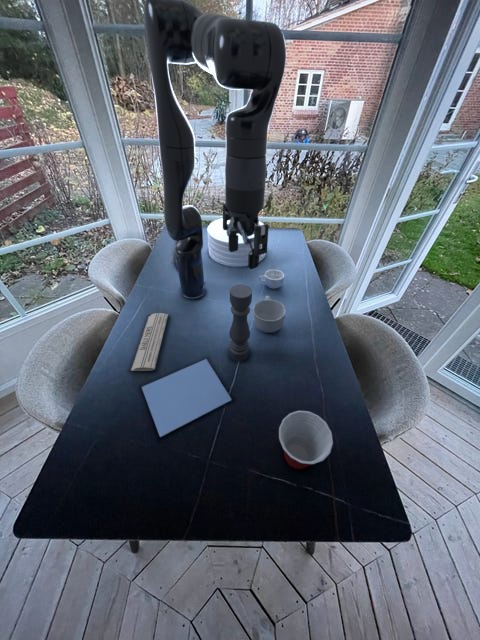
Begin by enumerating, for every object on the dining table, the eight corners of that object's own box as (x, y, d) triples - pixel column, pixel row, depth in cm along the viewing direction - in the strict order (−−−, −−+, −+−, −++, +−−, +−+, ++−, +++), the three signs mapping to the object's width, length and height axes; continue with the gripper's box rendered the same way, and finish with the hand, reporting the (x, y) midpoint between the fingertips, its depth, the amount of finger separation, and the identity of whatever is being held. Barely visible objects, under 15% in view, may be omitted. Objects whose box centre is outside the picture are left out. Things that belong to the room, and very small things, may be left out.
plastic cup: (269, 434, 66) (274, 411, 57) (311, 431, 66) (323, 407, 58) (277, 484, 58) (285, 465, 49) (325, 480, 59) (341, 460, 50)
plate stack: (215, 235, 142) (214, 214, 134) (267, 240, 139) (269, 218, 131) (202, 263, 122) (200, 240, 114) (263, 269, 119) (265, 246, 111)
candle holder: (251, 349, 85) (256, 286, 68) (245, 363, 81) (248, 300, 64) (233, 344, 87) (233, 281, 69) (226, 358, 82) (225, 295, 65)
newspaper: (155, 370, 78) (153, 367, 77) (130, 371, 78) (129, 367, 77) (168, 316, 95) (167, 312, 94) (148, 316, 95) (147, 312, 94)
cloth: (141, 387, 74) (141, 387, 74) (206, 359, 82) (206, 358, 82) (160, 437, 64) (159, 437, 64) (231, 400, 72) (231, 399, 72)
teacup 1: (282, 280, 113) (284, 270, 109) (282, 291, 108) (284, 280, 104) (258, 279, 114) (259, 268, 110) (258, 289, 108) (259, 278, 104)
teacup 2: (281, 339, 89) (284, 322, 83) (249, 334, 90) (250, 317, 84) (284, 312, 98) (287, 295, 93) (255, 308, 100) (257, 291, 94)
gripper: (284, 190, 46) (274, 269, 57) (242, 169, 55) (240, 242, 66) (248, 197, 43) (245, 279, 55) (209, 174, 52) (213, 249, 63)
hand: (242, 258), depth 60 cm, fingers open, 8 cm apart
